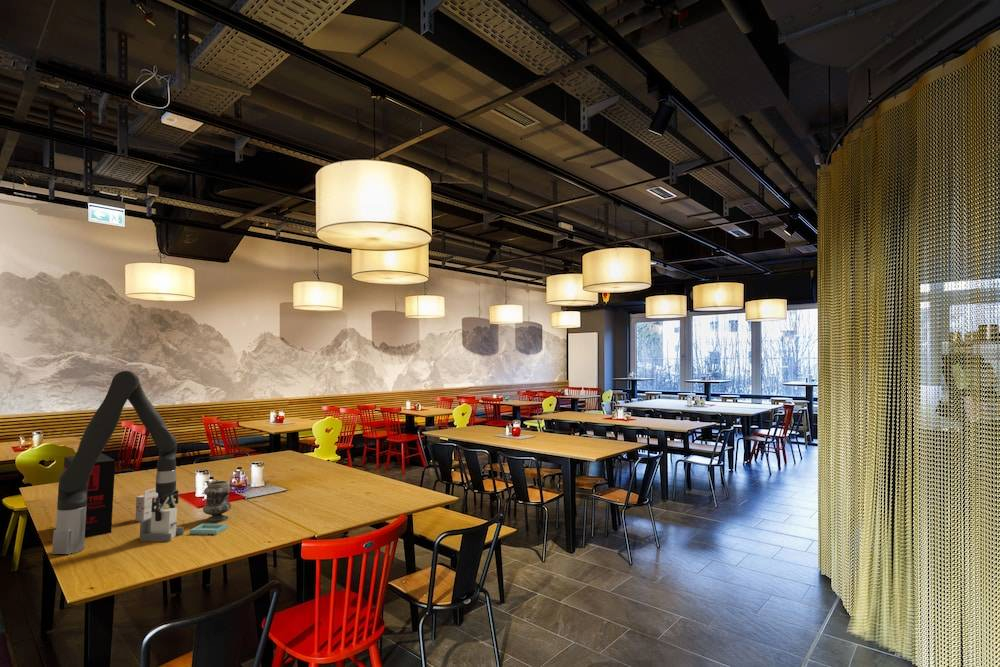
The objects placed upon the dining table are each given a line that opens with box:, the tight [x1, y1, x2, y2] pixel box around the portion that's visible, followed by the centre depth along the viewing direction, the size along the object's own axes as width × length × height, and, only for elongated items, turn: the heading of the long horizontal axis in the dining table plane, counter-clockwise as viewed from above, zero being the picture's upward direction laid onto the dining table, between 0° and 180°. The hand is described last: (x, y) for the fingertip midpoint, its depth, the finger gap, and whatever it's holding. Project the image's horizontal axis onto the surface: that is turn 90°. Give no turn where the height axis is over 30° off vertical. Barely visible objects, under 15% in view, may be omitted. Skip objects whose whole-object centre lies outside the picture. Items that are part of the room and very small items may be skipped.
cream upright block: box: [150, 507, 178, 539], centre depth 224 cm, size 5×9×12 cm, turn 89°
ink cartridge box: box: [135, 487, 158, 522], centre depth 251 cm, size 9×5×15 cm, turn 168°
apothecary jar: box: [202, 480, 232, 523], centre depth 251 cm, size 12×12×18 cm
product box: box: [63, 453, 116, 538], centre depth 235 cm, size 26×14×32 cm, turn 48°
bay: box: [139, 518, 185, 542], centre depth 224 cm, size 10×13×8 cm
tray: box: [189, 523, 229, 536], centre depth 233 cm, size 9×12×2 cm
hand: (164, 518), depth 225 cm, fingers open, 8 cm apart
